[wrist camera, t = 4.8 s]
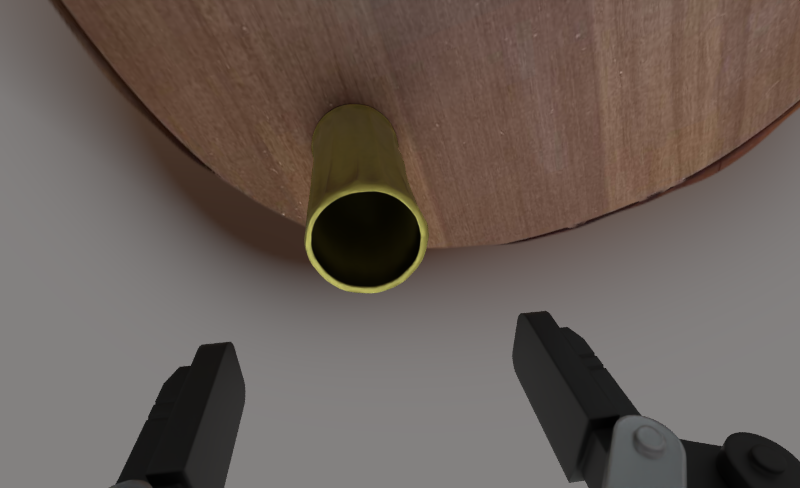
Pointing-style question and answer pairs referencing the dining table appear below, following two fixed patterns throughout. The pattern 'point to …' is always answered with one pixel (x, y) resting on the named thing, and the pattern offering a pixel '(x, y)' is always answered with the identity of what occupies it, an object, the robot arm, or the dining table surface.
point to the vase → (361, 204)
